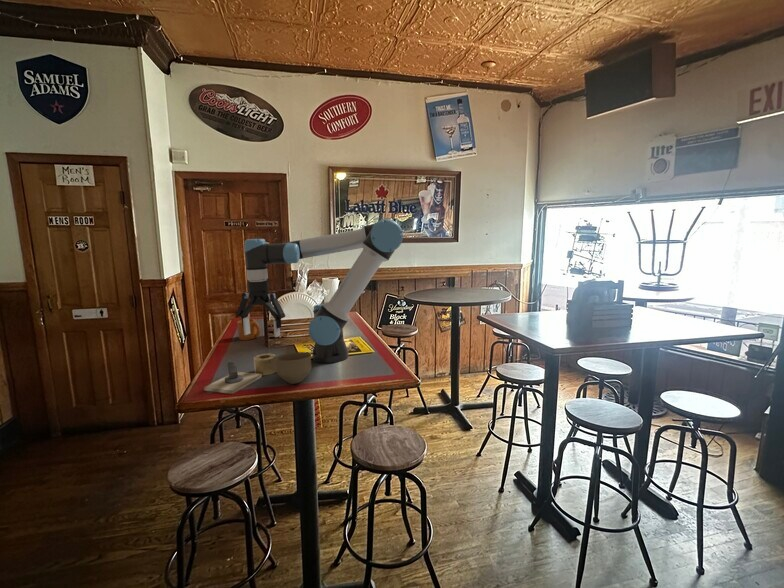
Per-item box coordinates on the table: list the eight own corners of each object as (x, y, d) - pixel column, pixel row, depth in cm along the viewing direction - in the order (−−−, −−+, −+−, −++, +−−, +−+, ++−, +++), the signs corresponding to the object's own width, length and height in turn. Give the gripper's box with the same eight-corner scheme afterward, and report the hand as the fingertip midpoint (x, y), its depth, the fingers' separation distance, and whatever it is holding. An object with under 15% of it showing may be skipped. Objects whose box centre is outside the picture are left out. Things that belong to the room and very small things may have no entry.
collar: (280, 368, 162) (279, 354, 161) (268, 376, 154) (267, 360, 153) (263, 367, 164) (262, 352, 163) (251, 374, 157) (249, 359, 156)
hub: (261, 377, 154) (259, 356, 152) (232, 393, 139) (230, 370, 137) (235, 374, 158) (233, 353, 156) (204, 390, 143) (201, 368, 141)
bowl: (310, 373, 156) (308, 348, 154) (315, 385, 144) (313, 357, 142) (276, 378, 152) (273, 352, 150) (278, 390, 140) (275, 362, 138)
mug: (251, 341, 203) (249, 324, 202) (235, 339, 209) (233, 322, 208) (265, 336, 211) (263, 319, 209) (249, 334, 217) (247, 318, 215)
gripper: (292, 279, 153) (295, 334, 157) (237, 278, 161) (241, 330, 164) (280, 282, 146) (284, 339, 150) (223, 281, 154) (228, 335, 157)
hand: (262, 335), depth 157 cm, fingers open, 13 cm apart
